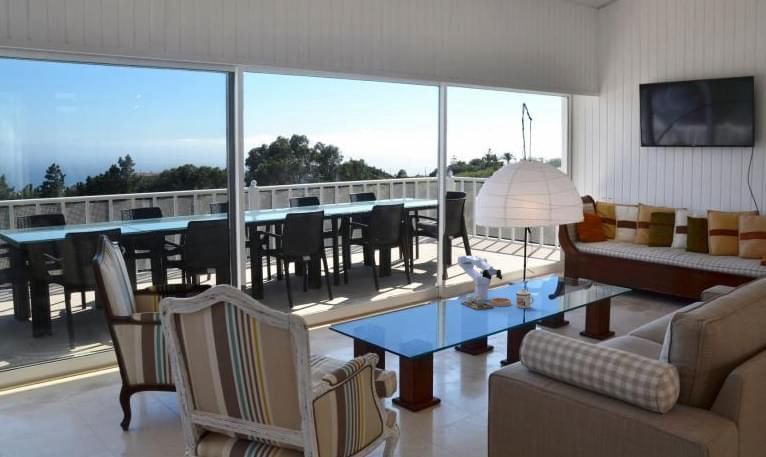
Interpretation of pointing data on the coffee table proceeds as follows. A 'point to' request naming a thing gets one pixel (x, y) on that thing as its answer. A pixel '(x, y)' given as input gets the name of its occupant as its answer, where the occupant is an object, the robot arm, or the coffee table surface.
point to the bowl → (500, 301)
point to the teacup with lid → (523, 299)
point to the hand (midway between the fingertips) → (496, 278)
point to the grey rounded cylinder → (480, 302)
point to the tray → (474, 306)
